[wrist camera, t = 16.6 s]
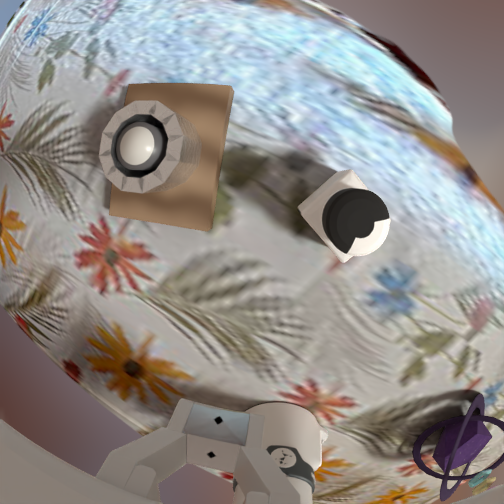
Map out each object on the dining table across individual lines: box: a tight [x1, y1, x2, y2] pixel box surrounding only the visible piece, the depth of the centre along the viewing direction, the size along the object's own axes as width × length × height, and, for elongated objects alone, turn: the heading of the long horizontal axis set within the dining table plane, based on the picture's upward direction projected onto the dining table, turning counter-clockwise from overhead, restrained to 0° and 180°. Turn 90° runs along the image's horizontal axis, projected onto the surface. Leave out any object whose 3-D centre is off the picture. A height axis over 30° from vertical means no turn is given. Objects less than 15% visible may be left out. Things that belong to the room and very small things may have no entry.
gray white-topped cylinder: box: [116, 122, 168, 171], centre depth 29 cm, size 5×5×6 cm
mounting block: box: [109, 83, 234, 231], centre depth 34 cm, size 18×14×2 cm
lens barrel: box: [99, 101, 202, 193], centre depth 30 cm, size 10×10×7 cm
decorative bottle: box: [412, 394, 504, 501], centre depth 31 cm, size 22×21×25 cm
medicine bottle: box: [297, 170, 391, 263], centre depth 30 cm, size 7×7×12 cm
